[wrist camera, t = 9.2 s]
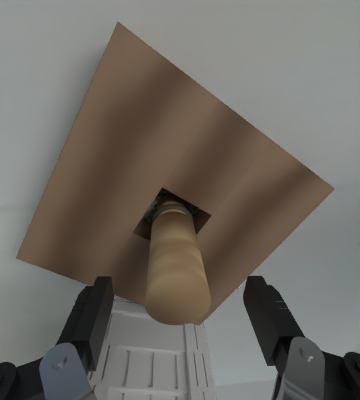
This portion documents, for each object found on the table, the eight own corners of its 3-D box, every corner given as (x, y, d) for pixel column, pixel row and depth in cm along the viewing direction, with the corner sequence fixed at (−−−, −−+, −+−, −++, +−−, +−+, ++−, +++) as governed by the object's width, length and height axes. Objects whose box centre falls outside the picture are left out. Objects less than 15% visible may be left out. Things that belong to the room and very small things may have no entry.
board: (312, 177, 21) (334, 188, 18) (195, 303, 27) (199, 325, 25) (126, 35, 15) (117, 21, 12) (34, 237, 22) (15, 258, 19)
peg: (196, 202, 21) (225, 294, 11) (176, 228, 22) (187, 332, 12) (165, 184, 20) (167, 267, 10) (146, 213, 21) (131, 313, 11)
